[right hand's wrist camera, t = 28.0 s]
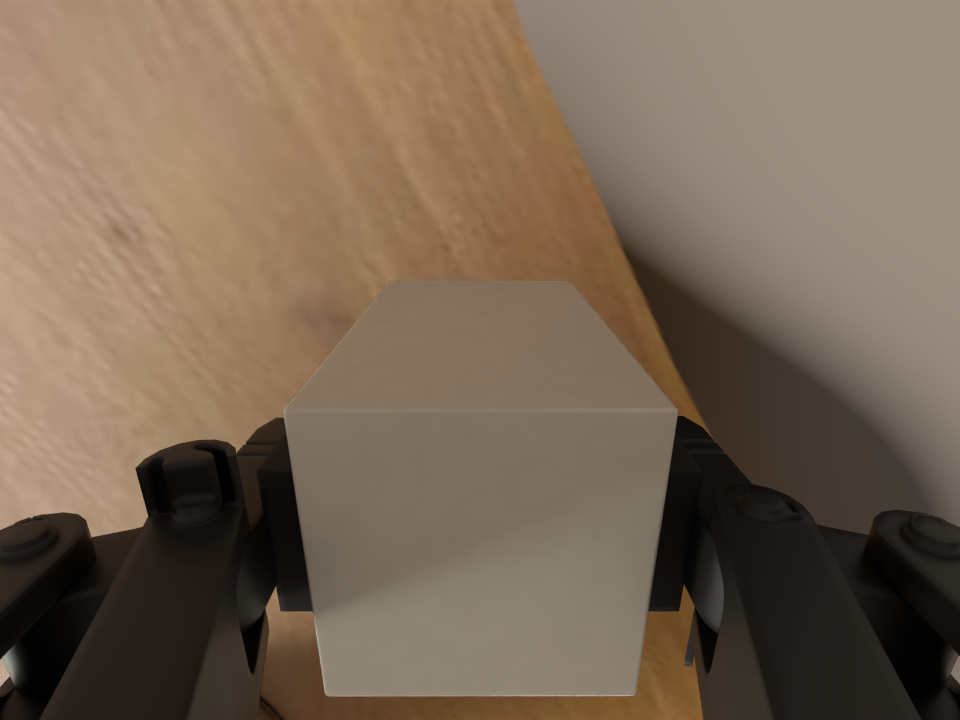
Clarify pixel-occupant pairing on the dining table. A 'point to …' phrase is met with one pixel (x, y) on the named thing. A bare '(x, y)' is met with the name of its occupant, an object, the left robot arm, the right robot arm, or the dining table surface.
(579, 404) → the block
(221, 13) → the dining table surface
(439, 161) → the dining table surface
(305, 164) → the dining table surface
